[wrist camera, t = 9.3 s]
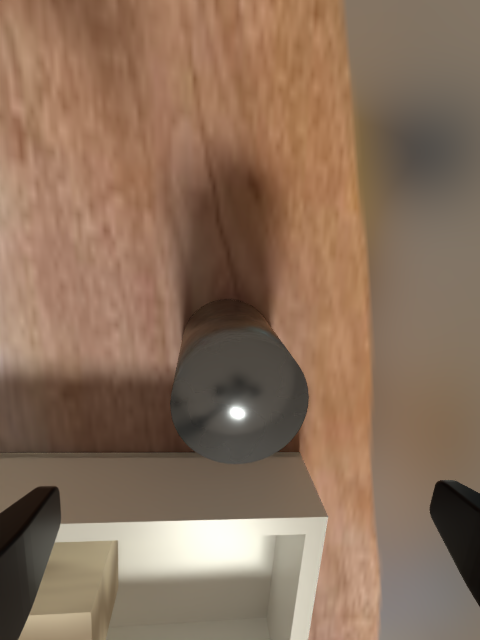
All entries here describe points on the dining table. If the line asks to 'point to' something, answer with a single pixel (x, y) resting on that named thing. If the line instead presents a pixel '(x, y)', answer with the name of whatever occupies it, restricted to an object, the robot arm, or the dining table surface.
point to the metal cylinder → (236, 386)
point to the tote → (190, 538)
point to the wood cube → (75, 593)
